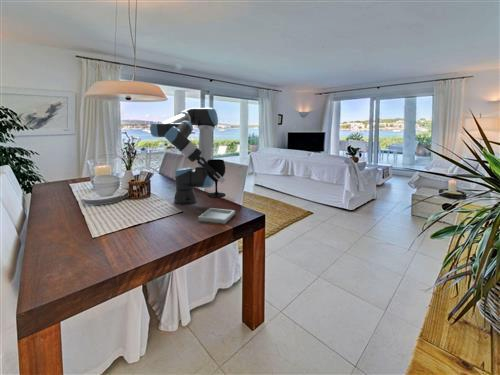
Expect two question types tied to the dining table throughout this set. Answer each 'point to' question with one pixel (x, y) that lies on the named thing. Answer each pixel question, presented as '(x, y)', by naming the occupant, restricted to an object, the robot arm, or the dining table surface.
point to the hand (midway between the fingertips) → (221, 179)
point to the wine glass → (219, 168)
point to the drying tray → (216, 215)
